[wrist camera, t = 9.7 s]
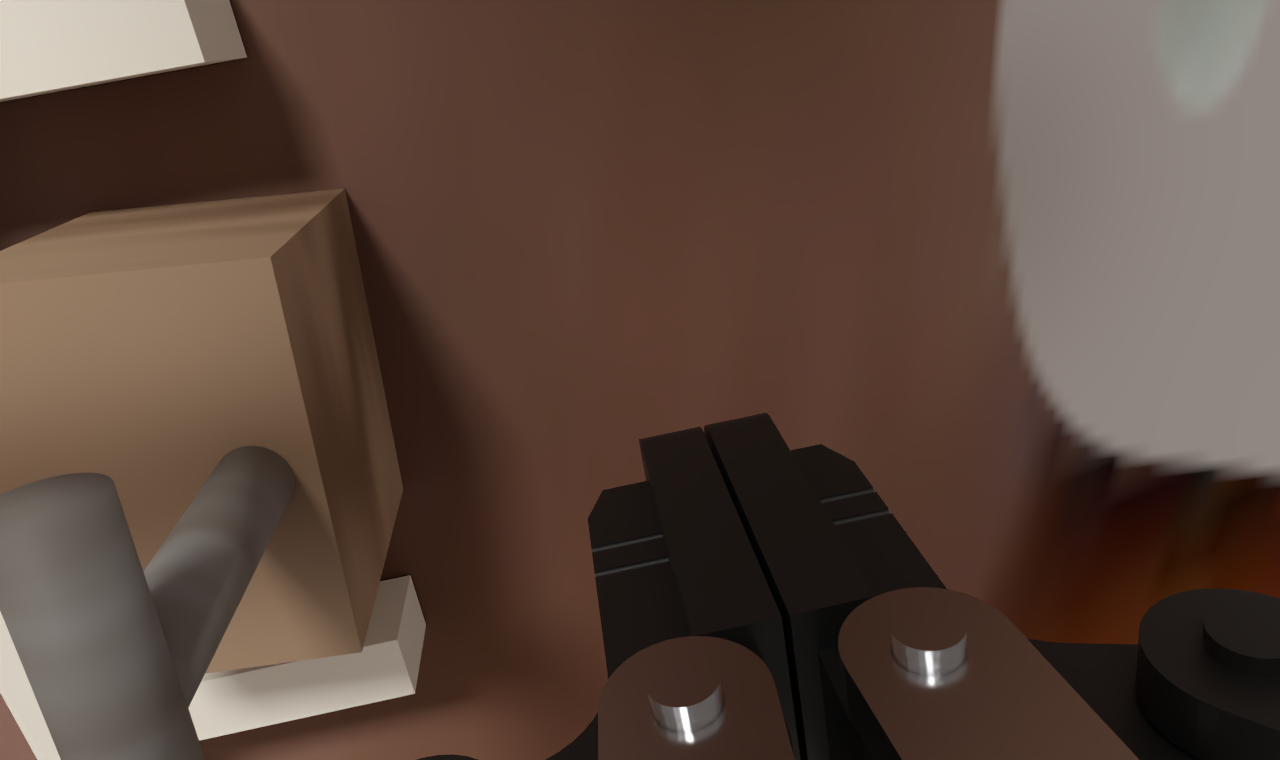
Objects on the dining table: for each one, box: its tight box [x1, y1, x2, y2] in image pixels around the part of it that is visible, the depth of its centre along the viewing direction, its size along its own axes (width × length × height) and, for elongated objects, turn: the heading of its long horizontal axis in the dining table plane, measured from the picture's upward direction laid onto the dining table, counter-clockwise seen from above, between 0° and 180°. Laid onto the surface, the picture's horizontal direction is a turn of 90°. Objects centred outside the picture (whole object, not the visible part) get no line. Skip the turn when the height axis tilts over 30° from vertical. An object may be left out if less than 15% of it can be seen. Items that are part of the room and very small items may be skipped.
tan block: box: [0, 188, 403, 760], centre depth 14 cm, size 7×5×12 cm
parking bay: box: [0, 0, 426, 760], centre depth 18 cm, size 15×8×3 cm, turn 10°
